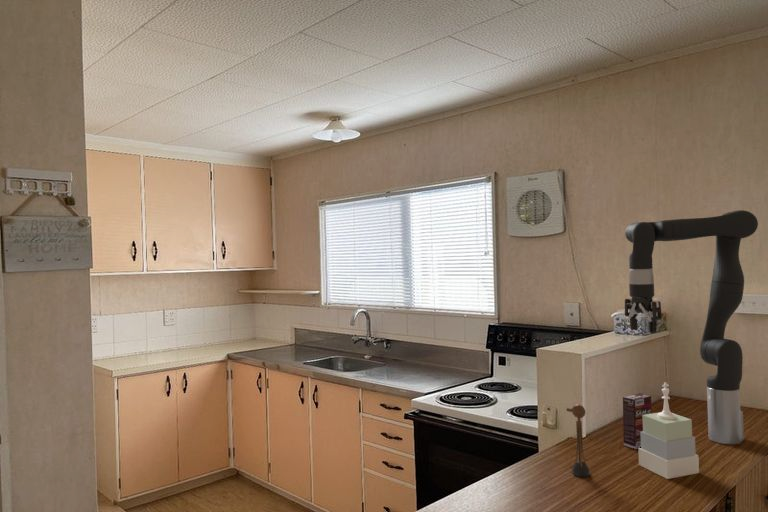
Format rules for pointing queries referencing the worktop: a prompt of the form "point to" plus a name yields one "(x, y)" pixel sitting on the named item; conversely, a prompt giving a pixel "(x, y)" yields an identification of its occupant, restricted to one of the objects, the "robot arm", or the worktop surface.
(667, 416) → the chess piece
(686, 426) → the brick tower
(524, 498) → the worktop surface
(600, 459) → the worktop surface
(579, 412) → the wooden tabletop sculpture
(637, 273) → the robot arm
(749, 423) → the worktop surface
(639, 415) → the supplement box
